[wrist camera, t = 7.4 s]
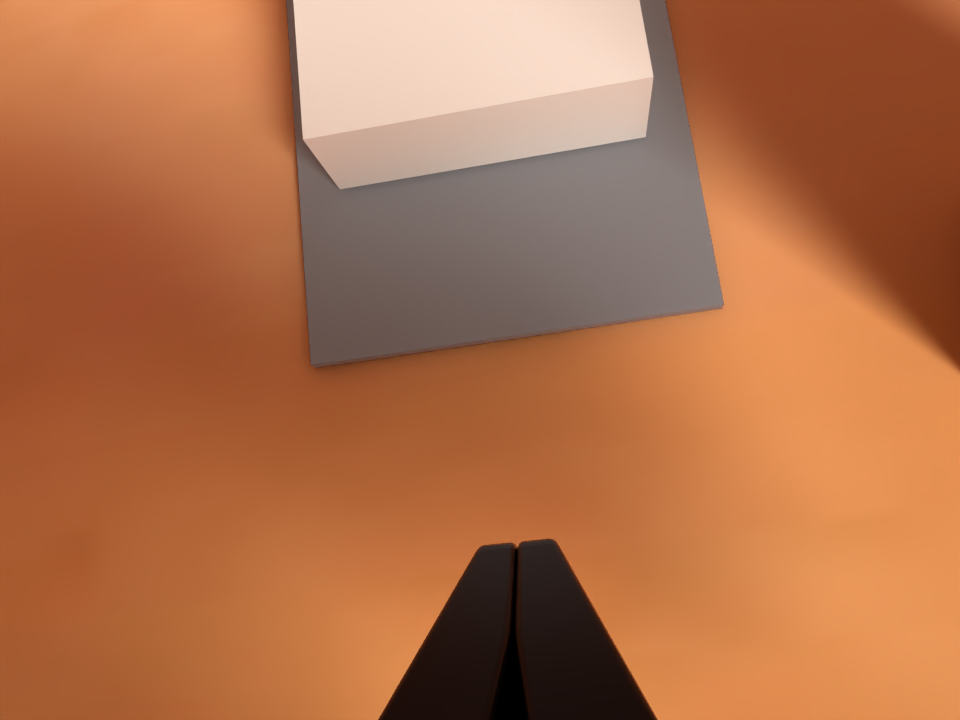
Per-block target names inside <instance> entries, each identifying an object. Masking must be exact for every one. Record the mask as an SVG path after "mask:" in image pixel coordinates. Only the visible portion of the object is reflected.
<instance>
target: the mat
mask: <svg viewBox="0 0 960 720" xmlns="http://www.w3.org/2000/svg"><path fill="white" fill-rule="evenodd" d="M639 1H640V6H641V12H642V17H643V22H644V28H645V33H646V39H647V44H648V50H649V55H650V60H651V66H652V71H653V84H652V92H651V100H650V108H649V115H648V123H647V131H646V137H643V138H638V139H632V140H626V141H620V142H614V143H608V144H603V145H597V146H591V147H585V148H579V149H573V150H568V151H562V152H556V153H550V154H544V155H538V156H533V157H527V158H521V159H515V160H509V161H503V162H498V163H492V164H486V165H480V166H474V167H468V168H463V169H457V170H451V171H445V172H439V173H433V174H428V175H422V176H416V177H410V178H404V179H398V180H393V181H387V182H381V183H375V184H369V185H363V186H358V187H352V188H346V189H339V188H338V186H337V185H336V184H335V182H334V181H333V179H332V178H331V177H330V175H329V174H328V173H327V171H326V170H325V169H324V167H323V166H322V165H321V163H320V162H319V161H318V159H317V158H316V157H315V155H314V154H313V153H312V151H311V150H310V149H309V147H308V146H307V144H306V143H305V142H304V140H303V133H302V119H301V104H300V90H299V76H298V61H297V47H296V33H295V18H294V4H293V0H286V5H287V20H288V35H289V49H290V64H291V79H292V94H293V109H294V124H295V138H296V153H297V168H298V183H299V198H300V213H301V227H302V242H303V257H304V272H305V287H306V302H307V317H308V331H309V346H310V361H311V366H313V367H315V368H318V367H325V366H331V365H338V364H345V363H352V362H359V361H366V360H372V359H379V358H386V357H393V356H400V355H407V354H414V353H420V352H427V351H434V350H441V349H448V348H455V347H461V346H468V345H475V344H482V343H489V342H496V341H503V340H509V339H516V338H523V337H530V336H537V335H544V334H551V333H557V332H564V331H571V330H578V329H585V328H592V327H598V326H605V325H612V324H619V323H626V322H633V321H640V320H646V319H653V318H660V317H667V316H674V315H681V314H687V313H694V312H701V311H708V310H715V309H722V307H723V305H724V303H723V297H722V292H721V287H720V282H719V277H718V271H717V266H716V261H715V256H714V251H713V245H712V240H711V235H710V230H709V225H708V219H707V214H706V209H705V204H704V199H703V193H702V188H701V183H700V178H699V173H698V167H697V162H696V157H695V152H694V147H693V141H692V136H691V131H690V126H689V121H688V115H687V110H686V105H685V100H684V95H683V89H682V84H681V79H680V74H679V69H678V63H677V58H676V53H675V48H674V43H673V37H672V32H671V27H670V22H669V17H668V11H667V6H666V1H665V0H639Z"/></svg>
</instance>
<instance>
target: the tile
mask: <svg viewBox="0 0 960 720" xmlns="http://www.w3.org/2000/svg"><path fill="white" fill-rule="evenodd" d="M293 4H294V18H295V33H296V47H297V61H298V76H299V90H300V104H301V119H302V133H303V140H304V142H305V143H306V144H307V146H308V147H309V149H310V150H311V151H312V153H313V154H314V155H315V157H316V158H317V159H318V161H319V162H320V163H321V165H322V166H323V167H324V169H325V170H326V171H327V173H328V174H329V175H330V177H331V178H332V179H333V181H334V182H335V184H336V185H337V186H338V188H339V189H346V188H352V187H358V186H363V185H369V184H375V183H381V182H387V181H393V180H398V179H404V178H410V177H416V176H422V175H428V174H433V173H439V172H445V171H451V170H457V169H463V168H468V167H474V166H480V165H486V164H492V163H498V162H503V161H509V160H515V159H521V158H527V157H533V156H538V155H544V154H550V153H556V152H562V151H568V150H573V149H579V148H585V147H591V146H597V145H603V144H608V143H614V142H620V141H626V140H632V139H638V138H643V137H646V131H647V123H648V115H649V108H650V100H651V92H652V84H653V71H652V66H651V60H650V55H649V50H648V44H647V39H646V33H645V28H644V22H643V17H642V12H641V6H640V1H639V0H293Z"/></svg>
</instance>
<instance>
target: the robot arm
mask: <svg viewBox="0 0 960 720" xmlns="http://www.w3.org/2000/svg"><path fill="white" fill-rule="evenodd" d="M378 720H658V719H657V718H656V716H655V714H654V712H653V711H652V709H651V707H650V705H649V704H648V702H647V700H646V698H645V697H644V695H643V693H642V691H641V689H640V688H639V686H638V684H637V682H636V681H635V679H634V677H633V675H632V674H631V672H630V670H629V668H628V667H627V665H626V663H625V661H624V659H623V658H622V656H621V654H620V652H619V651H618V649H617V647H616V645H615V644H614V642H613V640H612V638H611V637H610V635H609V633H608V631H607V629H606V628H605V626H604V624H603V622H602V621H601V619H600V617H599V615H598V614H597V612H596V610H595V608H594V607H593V605H592V603H591V601H590V599H589V598H588V596H587V594H586V592H585V591H584V589H583V587H582V585H581V584H580V582H579V580H578V578H577V577H576V575H575V573H574V571H573V569H572V568H571V566H570V564H569V562H568V561H567V559H566V557H565V555H564V554H563V552H562V550H561V548H560V547H559V545H558V543H557V542H556V541H555V540H553V539H542V540H532V541H523V542H521V543H520V544H519V546H518V547H517V546H516V545H515V544H513V543H501V544H491V545H483V546H481V547H480V548H479V549H478V550H477V551H476V553H475V554H474V556H473V558H472V559H471V561H470V563H469V565H468V566H467V568H466V570H465V572H464V573H463V575H462V577H461V578H460V580H459V582H458V584H457V585H456V587H455V589H454V590H453V592H452V594H451V596H450V597H449V599H448V601H447V602H446V604H445V606H444V608H443V609H442V611H441V613H440V614H439V616H438V618H437V620H436V621H435V623H434V625H433V626H432V628H431V630H430V632H429V633H428V635H427V637H426V639H425V640H424V642H423V644H422V645H421V647H420V649H419V651H418V652H417V654H416V656H415V657H414V659H413V661H412V663H411V664H410V666H409V668H408V669H407V671H406V673H405V675H404V676H403V678H402V680H401V681H400V683H399V685H398V687H397V688H396V690H395V692H394V693H393V695H392V697H391V699H390V700H389V702H388V704H387V706H386V707H385V709H384V711H383V712H382V714H381V716H380V718H379V719H378Z"/></svg>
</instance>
